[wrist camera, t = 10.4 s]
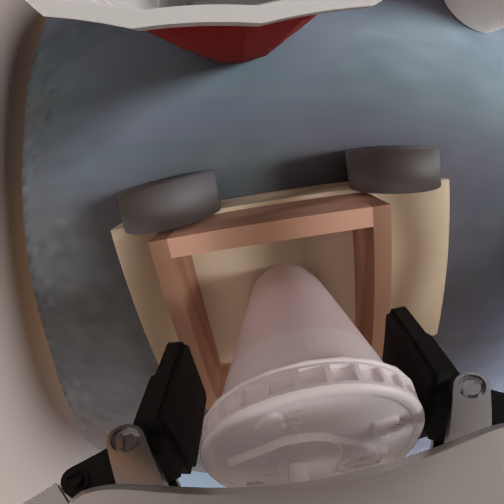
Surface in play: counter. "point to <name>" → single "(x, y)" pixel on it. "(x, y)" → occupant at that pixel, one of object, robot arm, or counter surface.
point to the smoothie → (305, 392)
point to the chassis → (285, 250)
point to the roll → (478, 13)
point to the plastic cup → (204, 21)
